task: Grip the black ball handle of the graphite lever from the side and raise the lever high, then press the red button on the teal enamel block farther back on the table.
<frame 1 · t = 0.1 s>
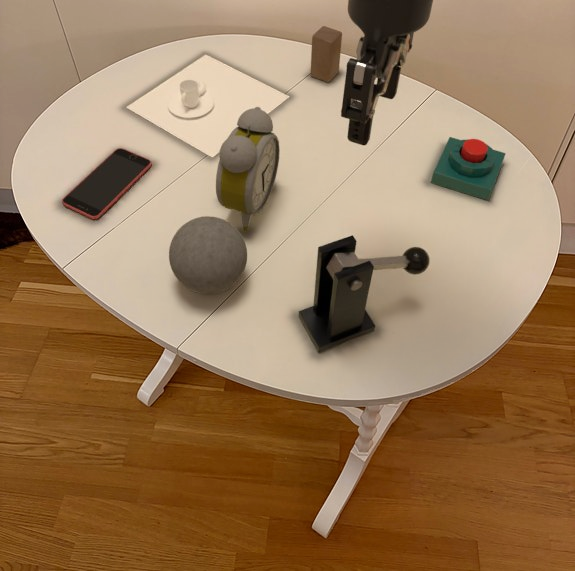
hand: (372, 117, 64), 24 cm above the table, tool pointing down, fingers open, 8 cm apart
lever: (382, 263, 70), point 10 cm above the table, hinge at -22.0°
button: (474, 151, 90), point 4 cm above the table, slide at 0.1 cm
wooden block: (324, 75, 108), on the table
smartphone: (108, 184, 91), on the table
alarm clock: (246, 206, 89), on the table
button block: (466, 173, 93), on the table
decorative ball: (212, 279, 81), on the table
teacup and saucer: (208, 102, 103), on the table
bracket: (336, 323, 77), on the table
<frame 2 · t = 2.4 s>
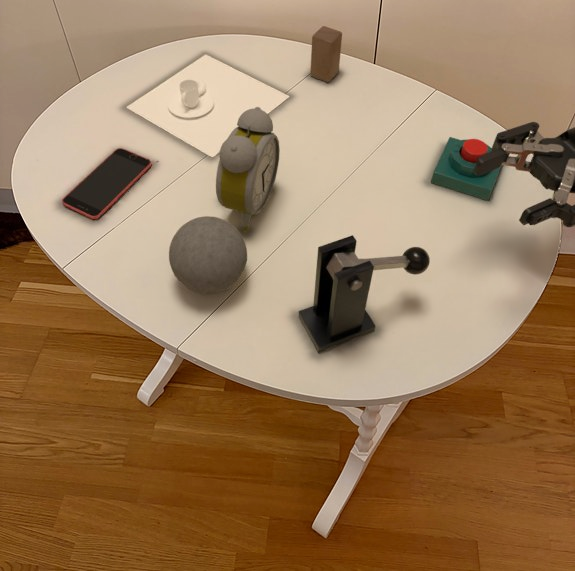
hand: (499, 192, 68), 16 cm above the table, tool horizontal, fingers open, 8 cm apart
nothing on the table moved.
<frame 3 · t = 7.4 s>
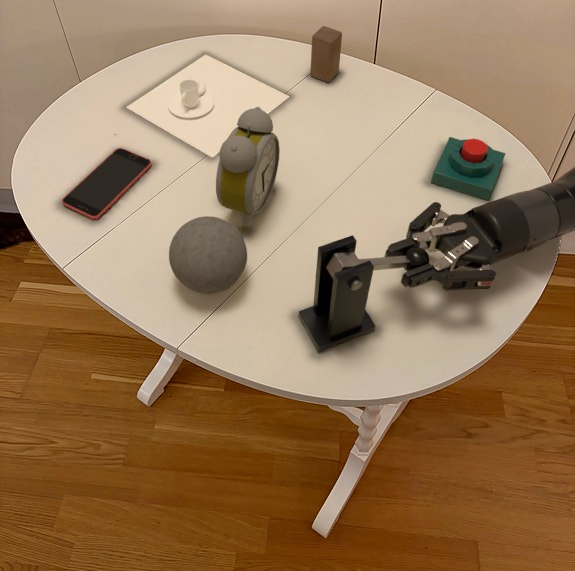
hand: (395, 268, 72), 8 cm above the table, tool horizontal, fingers closed on lever, 3 cm apart
lever: (382, 263, 70), point 10 cm above the table, hinge at -22.0°, touching gripper
everything else where it was.
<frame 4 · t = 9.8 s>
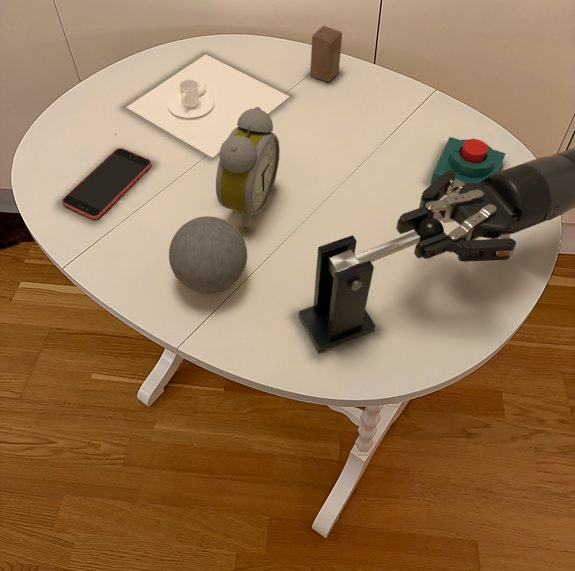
hand: (408, 238, 68), 13 cm above the table, tool horizontal, fingers closed on lever, 3 cm apart
lever: (388, 248, 68), point 12 cm above the table, hinge at 4.5°, touching gripper
everything else where it was.
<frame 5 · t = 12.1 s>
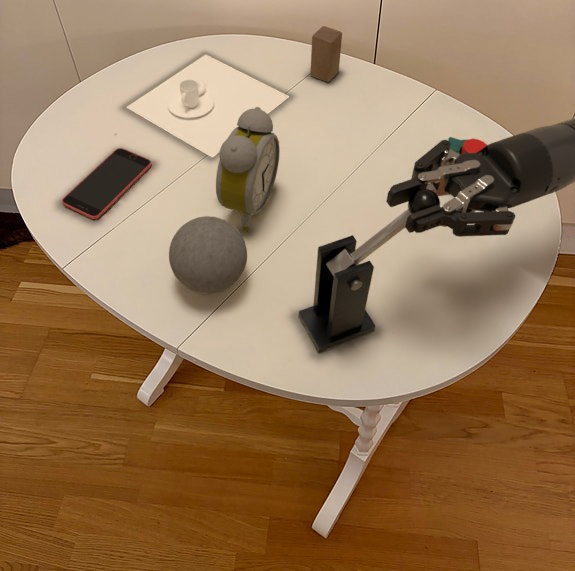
hand: (399, 211, 63), 19 cm above the table, tool horizontal, fingers closed on lever, 3 cm apart
lever: (384, 235, 66), point 15 cm above the table, hinge at 34.4°, touching gripper
everything else where it was.
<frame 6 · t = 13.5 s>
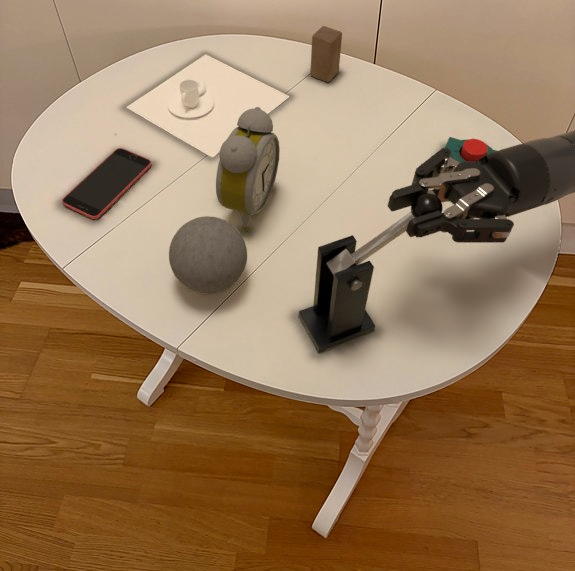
hand: (400, 215, 64), 18 cm above the table, tool horizontal, fingers closed on lever, 3 cm apart
lever: (386, 237, 66), point 15 cm above the table, hinge at 29.2°, touching gripper
everything else where it was.
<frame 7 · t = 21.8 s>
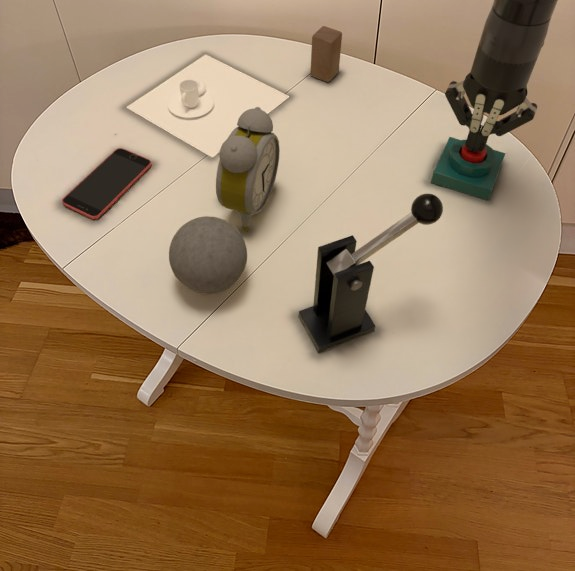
hand: (473, 149, 90), 5 cm above the table, tool pointing down, fingers closed
lever: (386, 237, 66), point 15 cm above the table, hinge at 28.6°
button: (473, 153, 90), point 4 cm above the table, slide at -0.5 cm, touching gripper
everything else where it was.
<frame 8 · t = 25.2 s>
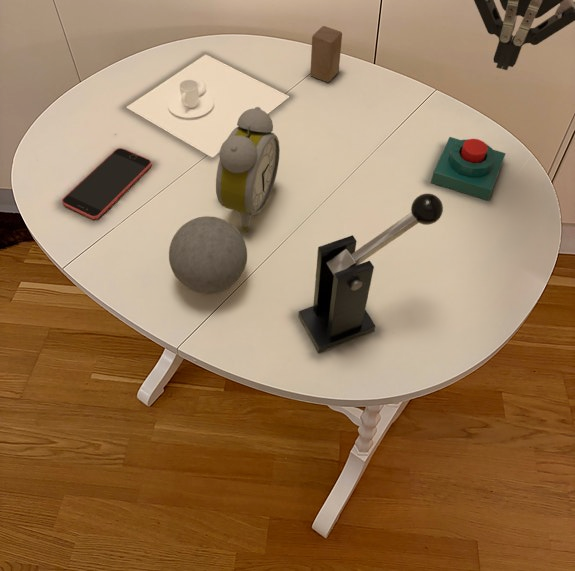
hand: (503, 65, 78), 19 cm above the table, tool pointing down, fingers closed
button: (474, 151, 90), point 4 cm above the table, slide at 0.1 cm
everything else where it was.
at the end: lever at +29° (first picture: -22°); button pushed in 1.1 cm at the most during the clip, back to where it started at the end; button slide at 0.1 cm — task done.
